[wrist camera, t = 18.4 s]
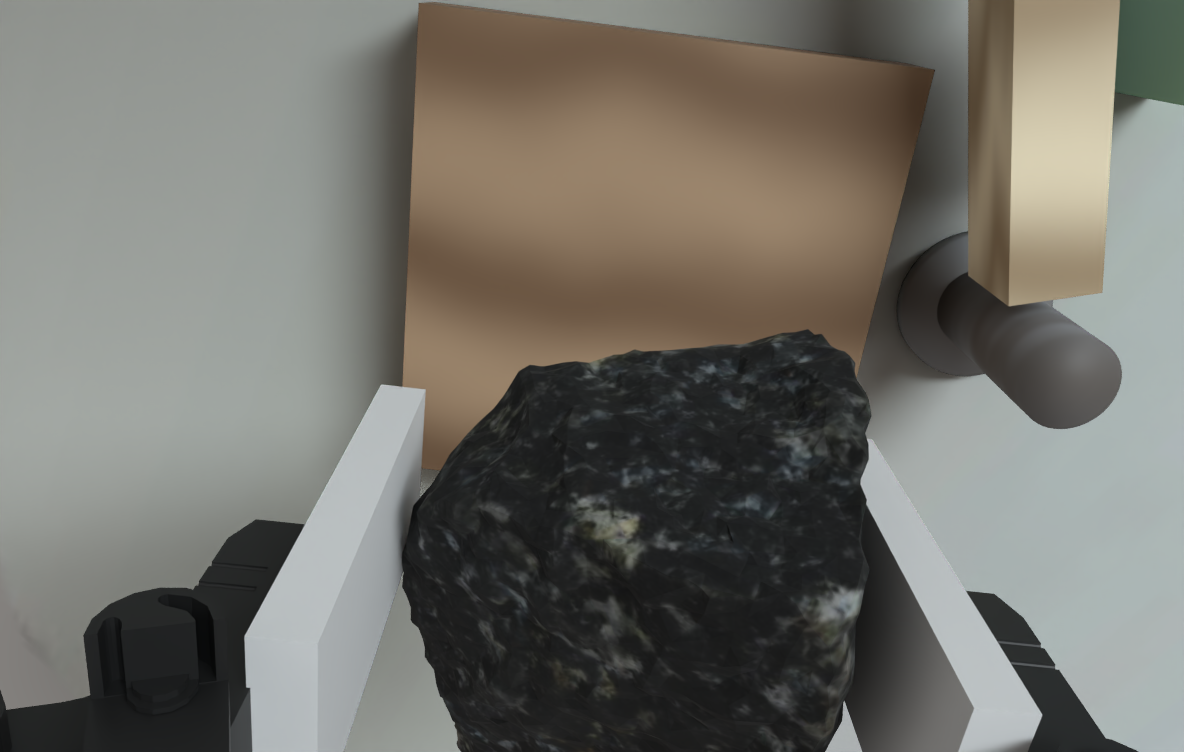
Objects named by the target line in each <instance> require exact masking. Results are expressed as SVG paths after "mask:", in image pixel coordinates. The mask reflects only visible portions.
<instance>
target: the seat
mask: <svg viewBox="0 0 1184 752" xmlns="http://www.w3.org/2000/svg"><path fill="white" fill-rule="evenodd" d="M934 71H935V70H933V69H928V68H924V67H920V66H915V65H911V64H907V63H900V62H892V61H884V60H877V59H869V58H861V57H854V56H846V55H838V54H830V53H823V52H815V51H807V50H800V49H792V48H784V47H777V46H769V45H761V44H753V43H746V42H738V41H730V40H723V39H715V38H707V37H700V36H692V35H684V34H676V33H669V32H661V31H653V30H646V29H638V28H630V27H623V26H615V25H607V24H599V23H592V22H584V21H576V20H569V19H561V18H553V17H546V16H538V15H530V14H522V13H515V12H507V11H499V10H492V9H484V8H476V7H469V6H461V5H453V4H445V3H438V2H428V3H419V13H418V36H417V59H416V83H415V106H414V129H413V152H412V176H411V199H410V222H409V245H408V268H407V292H406V315H405V338H404V361H403V385H402V387H408V388H417V389H426V392H425V410H424V429H423V447H422V465H421V468H423V469H433V470H441V469H442V467H443V465H444V464H445V462H446V460H447V458H448V457H449V455H450V453H451V452H452V451H453V450H454V449H455V448H456V447H457V446H458V444H459V443H460V442H461V441H462V440H463V438H464V437H465V436H466V435H467V434H468V433H469V432H470V431H471V430H472V429H473V428H474V426H475V425H476V424H477V423H478V422H479V421H480V420H481V419H483V418H484V417H485V416H486V415H487V414H488V413H489V412H490V411H491V410H493V409H494V407H495V406H496V405H497V404H498V402H499V401H500V400H501V398H502V397H503V396H504V395H505V393H506V391H507V390H508V388H509V386H510V385H511V383H512V381H513V380H514V378H515V376H516V375H517V373H518V371H520V370H522V369H523V368H525V367H527V366H528V365H536V366H548V365H553V364H558V363H563V362H573V361H579V362H587V363H590V362H593V361H596V360H599V359H602V358H605V357H608V356H611V355H618V354H625V353H627V352H630V351H632V350H634V349H635V350H639V351H662V350H676V349H685V348H699V347H707V346H713V345H718V344H745V343H749V342H752V341H756V340H759V339H763V338H766V337H769V336H773V335H776V334H780V333H790V332H798V331H802V330H806V329H809V330H810V331H811V332H812V333H813V334H814V335H816V334H822V335H823V336H824V337H825V339H826V340H827V341H828V343H829V344H830V345H831V346H832V347H834V348H836V349H838V350H841V351H845V352H846V353H847V354H848V355H850V357H851V358H852V359H853V360H854V362H855V375H856V377H857V373H858V369H859V365H860V362H861V358H862V354H863V350H864V346H865V342H866V338H867V334H868V330H869V326H870V322H871V318H872V315H873V311H874V307H875V303H876V299H877V295H878V291H879V287H880V283H881V279H882V275H883V271H884V267H885V264H886V260H887V256H888V252H889V248H890V244H891V240H892V236H893V232H894V228H895V224H896V220H897V217H898V213H899V209H900V205H901V201H902V197H903V193H904V189H905V185H906V181H907V177H908V173H909V169H910V166H911V162H912V158H913V154H914V150H915V146H916V142H917V138H918V134H919V130H920V126H921V122H922V119H923V115H924V111H925V107H926V103H927V99H928V95H929V91H930V87H931V83H932V79H933V75H934ZM1052 306H1053V300H1049V301H1042V302H1035V303H1029V304H1022V305H1015V306H1007V305H1006V304H1005V303H1003V302H1002V301H1001V300H1000V299H998V298H997V297H996V296H994V295H993V294H992V293H990V292H989V291H988V290H986V289H985V288H984V287H982V286H981V285H980V284H979V283H977V282H976V281H975V280H973V279H972V278H971V277H969V276H968V232H963V233H960V234H956V235H953V236H951V237H949V238H947V239H944V240H942V241H941V242H939V243H937V244H936V245H934V246H933V247H932V248H930V249H929V250H928V251H926V252H925V253H924V254H923V255H922V256H921V257H920V258H919V259H918V260H917V261H916V263H915V264H914V265H913V266H912V268H911V269H910V271H909V272H908V274H907V276H906V278H905V280H904V282H903V284H902V287H901V290H900V293H899V297H898V303H897V317H898V323H899V328H900V331H901V333H902V336H903V338H904V339H905V341H906V343H907V344H908V345H909V347H910V348H911V349H912V350H913V351H914V353H915V354H916V355H917V356H918V357H919V358H920V359H921V360H922V361H923V362H924V363H926V364H927V365H929V366H930V367H932V368H934V369H936V370H938V371H941V372H944V373H947V374H951V375H957V376H974V375H981V374H986V375H987V376H988V377H989V378H990V379H991V380H992V381H993V382H994V383H995V384H996V385H997V386H998V387H999V388H1000V389H1001V390H1002V391H1003V392H1004V393H1005V394H1006V395H1007V396H1008V397H1009V398H1010V399H1011V400H1012V401H1013V402H1015V403H1016V404H1017V405H1018V406H1019V407H1020V408H1021V409H1022V410H1023V411H1024V412H1025V413H1026V414H1027V415H1028V416H1029V417H1030V418H1031V419H1032V420H1033V421H1035V422H1036V423H1038V424H1040V425H1042V426H1045V427H1048V428H1054V429H1068V428H1073V427H1077V426H1080V425H1083V424H1085V423H1087V422H1089V421H1091V420H1093V419H1094V418H1096V417H1097V416H1099V415H1100V414H1101V413H1102V412H1104V411H1105V410H1106V409H1107V408H1108V406H1109V405H1110V404H1111V403H1112V401H1113V400H1114V398H1115V396H1116V395H1117V392H1118V390H1119V387H1120V384H1121V378H1122V370H1121V365H1120V361H1119V359H1118V357H1117V355H1116V354H1115V352H1114V351H1113V350H1112V349H1111V348H1110V347H1109V346H1108V345H1106V344H1105V343H1103V342H1102V341H1100V340H1099V339H1098V338H1096V337H1095V336H1093V335H1092V334H1090V333H1089V332H1087V331H1086V330H1084V329H1083V328H1082V327H1080V326H1079V325H1077V324H1076V323H1074V322H1073V321H1071V320H1070V319H1069V318H1067V317H1066V316H1064V315H1063V314H1061V313H1060V312H1058V311H1057V310H1056V309H1054V308H1053V307H1052Z"/></svg>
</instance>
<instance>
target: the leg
mask: <svg viewBox="0 0 1184 752" xmlns="http://www.w3.org/2000/svg"><path fill="white" fill-rule="evenodd" d="M1119 10H1120V0H968V276H969V277H971V278H972V279H973V280H975V281H976V282H977V283H979V284H980V285H981V286H982V287H984V288H985V289H986V290H988V291H989V292H990V293H992V294H993V295H994V296H996V297H997V298H998V299H1000V300H1001V301H1002V302H1003V303H1005V304H1006V305H1007V306H1015V305H1022V304H1029V303H1035V302H1042V301H1049V300H1056V299H1063V298H1069V297H1076V296H1083V295H1090V294H1097V293H1102V289H1103V272H1104V256H1105V239H1106V223H1107V207H1108V190H1109V174H1110V157H1111V141H1112V125H1113V108H1114V92H1115V75H1116V59H1117V42H1118V26H1119Z"/></svg>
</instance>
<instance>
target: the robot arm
mask: <svg viewBox="0 0 1184 752" xmlns="http://www.w3.org/2000/svg"><path fill="white" fill-rule="evenodd" d="M425 392H426V389H417V388H408V387H399V386H390V385H381V386H380V388H379V389H378V391H377V393H376V395H375V397H374V399H373V400H372V402H371V404H370V406H369V408H368V410H367V411H366V413H365V415H364V417H363V419H362V421H361V423H360V424H359V426H358V428H357V430H356V432H355V434H354V435H353V437H352V439H351V441H350V443H349V445H348V446H347V448H346V450H345V452H344V454H343V456H342V458H341V459H340V461H339V463H338V465H337V467H336V469H335V470H334V472H333V474H332V476H331V478H330V480H329V482H328V483H327V485H326V487H325V489H324V491H323V493H322V494H321V496H320V498H319V500H318V502H317V504H316V505H315V507H314V509H313V511H312V513H311V515H310V517H309V518H308V520H307V522H306V524H305V525H304V524H295V523H285V522H276V521H266V520H255V521H253V522H252V523H250V524H249V525H247V526H246V527H244V528H243V529H241V530H240V531H238V532H237V533H235V534H233V535H232V536H230V537H229V538H228V539H227V540H226V542H225V543H224V545H223V546H222V548H221V549H220V551H219V552H218V554H217V555H216V557H215V558H214V560H213V561H212V566H209V567H208V569H207V570H206V572H205V573H204V575H203V576H202V578H201V579H200V581H199V585H198V586H195V588H194V589H193V590H192V589H188V588H157V589H152V590H148V591H143V592H138V593H134V594H131V595H129V596H127V597H125V598H123V599H120V600H118V601H116V602H114V603H111V604H110V605H108V606H107V607H106V608H105V609H103V610H102V611H101V612H100V613H99V614H97V615H96V616H95V617H94V618H92V620H91V622H90V624H89V626H88V628H87V630H86V631H85V633H84V635H83V636H84V644H85V653H86V661H87V669H88V678H89V686H90V694H91V695H90V696H87V697H84V698H80V699H75V700H71V701H66V702H61V703H54V704H47V705H39V706H32V707H25V708H18V709H11V710H6V706H5V703H4V700H3V697H2V694H1V691H0V752H344V749H345V746H346V743H347V740H348V737H349V734H350V731H351V728H352V724H353V721H354V718H355V715H356V712H357V709H358V706H359V703H360V700H361V697H362V694H363V691H364V688H365V685H366V682H367V679H368V676H369V673H370V670H371V667H372V664H373V661H374V658H375V655H376V652H377V649H378V646H379V643H380V640H381V637H382V634H383V631H384V627H385V624H386V621H387V618H388V615H389V612H390V609H391V606H392V603H393V600H394V597H395V594H396V591H397V588H398V585H399V582H400V579H401V576H402V573H403V567H402V552H403V550H404V547H405V544H406V540H407V535H408V530H409V525H410V520H411V515H412V510H413V505H414V504H415V503H416V502H417V501H418V500H419V498H420V484H421V465H422V447H423V429H424V410H425ZM867 441H868V444H869V460H868V463H867V465H866V468H865V470H864V473H863V475H862V477H861V483H860V484H861V487H862V489H863V491H864V494H865V496H866V499H867V502H866V507H865V512H864V516H863V521H862V529H861V547H862V550H863V553H864V555H865V558H866V561H867V563H868V566H869V569H870V571H869V574H868V578H867V581H866V584H865V588H864V593H863V598H862V603H861V609H860V614H859V616H858V618H857V621H856V632H855V666H854V676H853V684H852V686H851V688H850V690H849V692H848V694H847V696H846V698H845V703H846V706H847V709H848V712H849V715H850V717H851V720H852V723H853V726H854V729H855V732H856V734H857V737H858V740H859V743H860V746H861V749H862V752H1138V751H1136V750H1134V749H1132V748H1129V747H1127V746H1125V745H1123V744H1120V743H1118V742H1116V741H1113V740H1110V739H1106V738H1105V737H1104V735H1103V734H1102V732H1101V731H1100V729H1099V728H1098V726H1097V725H1096V724H1095V722H1094V721H1093V719H1092V718H1091V716H1090V715H1089V713H1088V712H1087V710H1086V709H1085V707H1084V706H1083V704H1082V703H1081V702H1080V700H1079V699H1078V697H1077V696H1076V694H1075V693H1074V691H1073V690H1072V688H1071V687H1070V685H1069V684H1068V683H1067V681H1066V680H1065V678H1064V677H1063V675H1062V674H1061V672H1060V671H1059V670H1055V663H1054V662H1053V661H1052V659H1051V658H1050V656H1049V655H1048V653H1047V652H1046V650H1045V649H1044V648H1041V646H1040V645H1041V643H1040V642H1039V640H1038V639H1037V637H1036V636H1035V634H1034V633H1033V631H1032V630H1031V628H1030V627H1029V625H1028V624H1027V622H1026V621H1025V620H1024V618H1023V617H1022V616H1021V615H1019V614H1018V613H1017V612H1016V611H1014V610H1013V609H1012V608H1011V607H1010V606H1008V605H1007V604H1006V603H1005V602H1003V601H1002V600H1001V599H1000V598H999V597H997V596H996V595H995V594H990V593H980V592H971V591H966V590H965V589H964V587H963V585H962V584H961V582H960V581H959V579H958V577H957V576H956V574H955V573H954V571H953V569H952V568H951V566H950V564H949V563H948V561H947V560H946V558H945V556H944V555H943V553H942V551H941V550H940V548H939V547H938V545H937V543H936V542H935V540H934V539H933V537H932V535H931V534H930V532H929V530H928V529H927V527H926V526H925V524H924V522H923V521H922V519H921V517H920V516H919V514H918V513H917V511H916V509H915V508H914V506H913V505H912V503H911V501H910V500H909V498H908V496H907V495H906V493H905V492H904V490H903V488H902V487H901V485H900V484H899V482H898V480H897V479H896V477H895V475H894V474H893V472H892V471H891V469H890V467H889V466H888V464H887V462H886V461H885V459H884V458H883V456H882V454H881V453H880V451H879V450H878V448H877V446H876V445H875V443H874V441H873V440H872V439H867Z"/></svg>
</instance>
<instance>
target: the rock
mask: <svg viewBox="0 0 1184 752" xmlns="http://www.w3.org/2000/svg"><path fill="white" fill-rule="evenodd" d="M870 418H871V411H870V406H869V400H868V397H867V395H866V392H865V391H864V390H863V388H862V387H861V386H860V384H859V383H858V382H857V379H856V375H855V362H854V360H853V359H852V358H851V357H850V355H848V354H847V353H846V352H845V351H841V350H838V349H836V348H834V347H832V346H831V345H830V344H829V343H828V341H827V340H826V339H825V337H824V336H823V335H822V334H816V335H814V334H813V333H812V332H811V331H810V330H809V329H806V330H802V331H798V332H790V333H780V334H776V335H773V336H769V337H766V338H763V339H759V340H756V341H752V342H749V343H745V344H718V345H713V346H707V347H699V348H685V349H676V350H662V351H639V350H635V349H634V350H632V351H630V352H627V353H625V354H618V355H611V356H608V357H605V358H602V359H599V360H596V361H593V362H590V363H587V362H579V361H573V362H563V363H558V364H553V365H548V366H536V365H528V366H527V367H525V368H523V369H522V370H520V371H518V373H517V375H516V376H515V378H514V380H513V381H512V383H511V385H510V386H509V388H508V390H507V391H506V393H505V395H504V396H503V397H502V398H501V400H500V401H499V402H498V404H497V405H496V406H495V407H494V409H493V410H491V411H490V412H489V413H488V414H487V415H486V416H485V417H484V418H483V419H481V420H480V421H479V422H478V423H477V424H476V425H475V426H474V428H473V429H472V430H471V431H470V432H469V433H468V434H467V435H466V436H465V437H464V438H463V440H462V441H461V442H460V443H459V444H458V446H457V447H456V448H455V449H454V450H453V451H452V452H451V453H450V455H449V457H448V458H447V460H446V462H445V464H444V465H443V467H442V469H441V471H440V472H439V474H438V476H437V477H436V479H435V480H434V482H433V483H432V485H431V486H430V487H429V488H428V489H427V490H426V492H425V493H424V494H423V495H422V496H421V497H420V498H419V500H418V501H417V502H416V503H415V504H414V505H413V510H412V515H411V520H410V525H409V530H408V535H407V540H406V544H405V547H404V550H403V552H402V567H403V571H404V575H403V585H402V588H403V589H404V591H405V593H406V595H407V597H408V600H409V603H410V606H411V621H412V623H413V624H415V625H416V626H417V627H418V628H419V630H420V633H421V635H422V638H423V641H424V646H425V657H426V659H427V661H428V662H429V663H430V665H431V666H432V667H433V669H434V672H435V678H436V684H437V687H438V691H439V694H440V697H442V698H443V700H444V702H445V704H446V707H447V709H448V711H449V713H450V715H451V718H452V720H453V721H454V722H455V728H456V729H457V736H458V741H457V746H458V748H459V749H460V751H461V752H825V751H826V749H827V747H828V745H829V743H830V742H831V740H832V738H833V736H834V734H835V732H836V731H837V729H838V727H839V725H840V724H841V722H842V716H843V714H842V712H843V702H844V700H845V698H846V696H847V694H848V692H849V690H850V688H851V686H852V684H853V676H854V666H855V632H856V621H857V618H858V616H859V614H860V609H861V603H862V598H863V593H864V588H865V584H866V581H867V578H868V574H869V571H870V569H869V566H868V563H867V561H866V558H865V555H864V553H863V550H862V547H861V529H862V521H863V516H864V512H865V507H866V502H867V499H866V496H865V494H864V491H863V489H862V487H861V484H860V483H861V477H862V475H863V473H864V470H865V468H866V465H867V463H868V460H869V444H868V441H867V438H866V435H865V432H866V429H867V427H868V424H869V421H870Z"/></svg>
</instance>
